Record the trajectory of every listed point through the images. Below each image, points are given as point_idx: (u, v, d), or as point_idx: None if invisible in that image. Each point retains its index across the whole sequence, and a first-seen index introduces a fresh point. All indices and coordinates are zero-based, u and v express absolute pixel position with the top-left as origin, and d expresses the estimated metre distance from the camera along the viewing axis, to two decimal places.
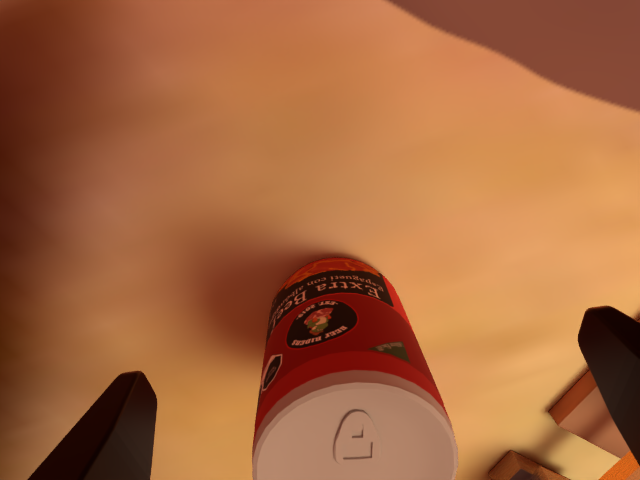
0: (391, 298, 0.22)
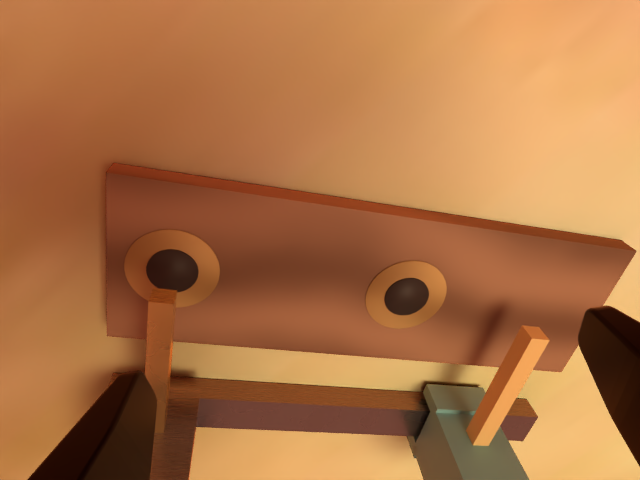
0: None
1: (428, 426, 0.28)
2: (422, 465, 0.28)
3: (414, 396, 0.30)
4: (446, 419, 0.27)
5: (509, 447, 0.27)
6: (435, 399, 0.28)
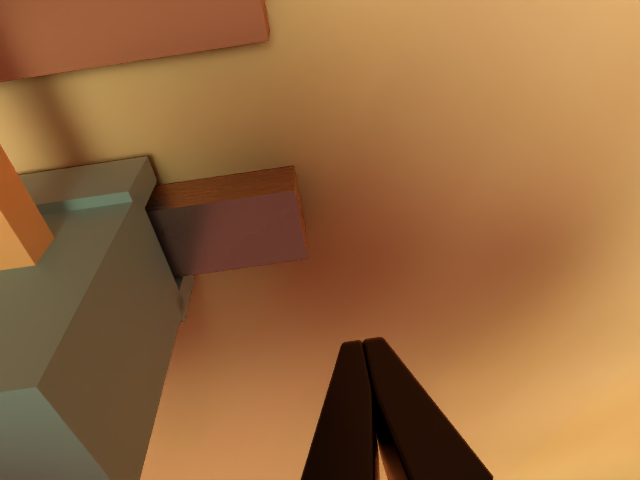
0: None
1: None
2: None
3: None
4: None
5: (96, 257, 0.10)
6: None
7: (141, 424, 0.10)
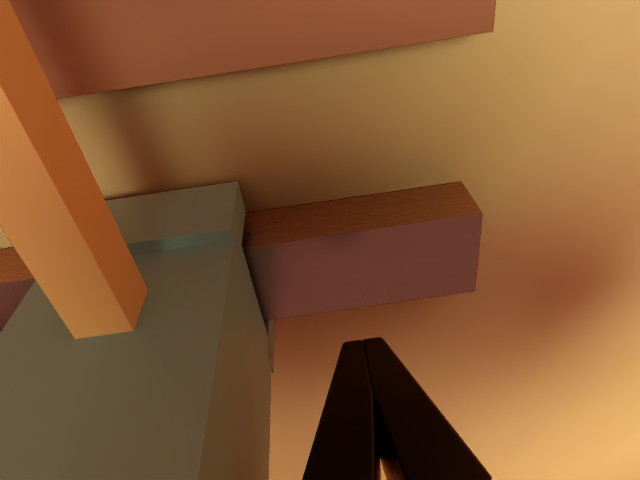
0: None
1: None
2: None
3: None
4: None
5: (212, 321, 0.08)
6: None
7: None
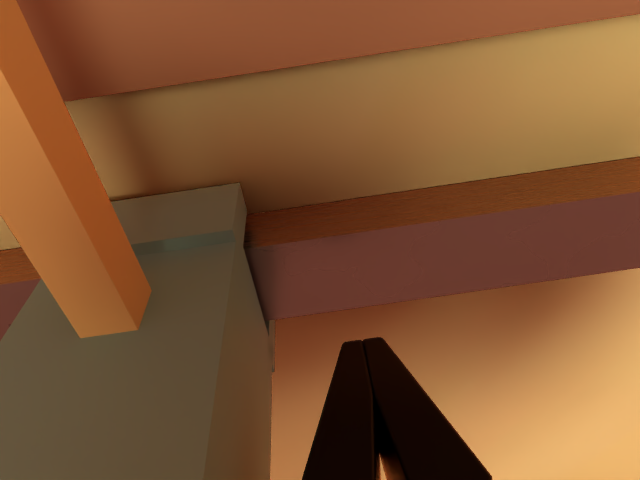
0: None
1: None
2: None
3: (312, 213, 0.11)
4: None
5: (216, 321, 0.08)
6: None
7: None
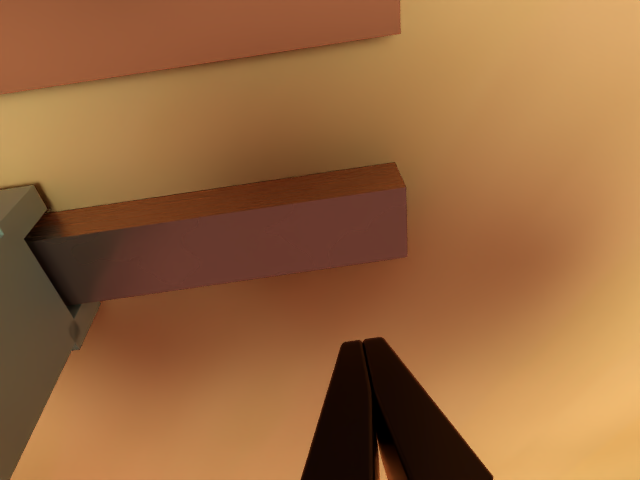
0: None
1: None
2: None
3: (106, 211, 0.13)
4: None
5: None
6: None
7: None
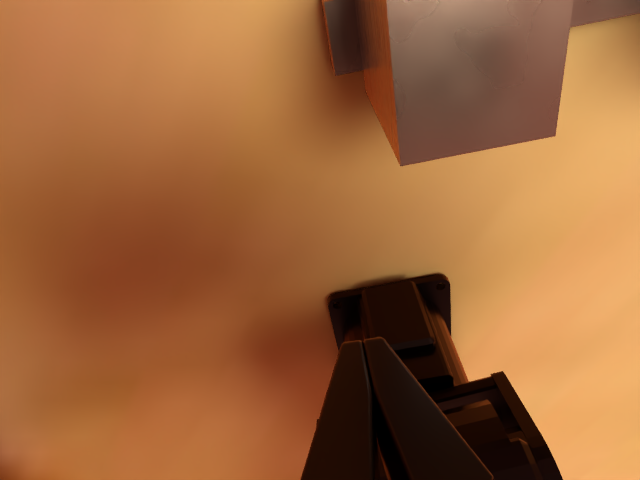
0: None
1: None
2: None
3: None
4: None
5: None
6: None
7: None
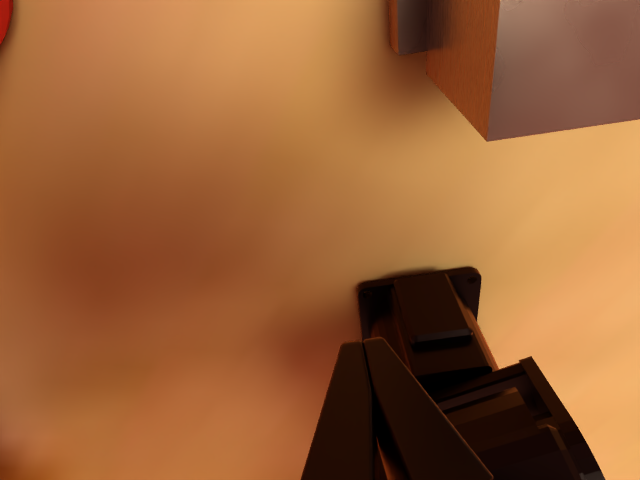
0: None
1: None
2: None
3: None
4: None
5: None
6: None
7: None
